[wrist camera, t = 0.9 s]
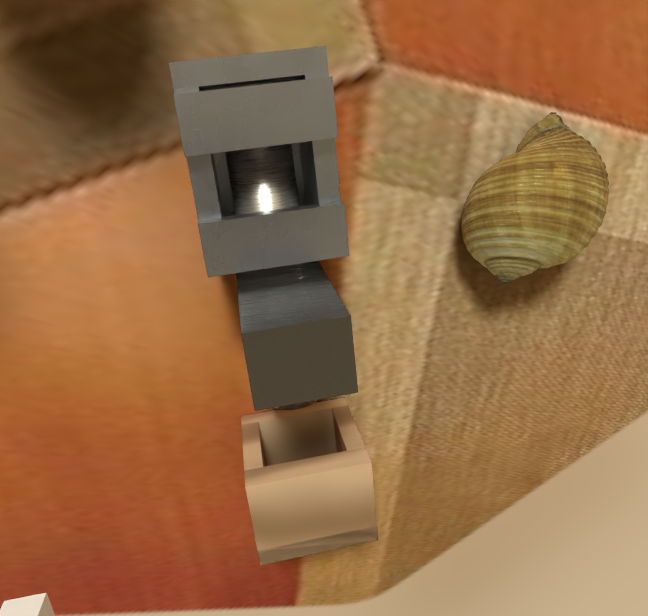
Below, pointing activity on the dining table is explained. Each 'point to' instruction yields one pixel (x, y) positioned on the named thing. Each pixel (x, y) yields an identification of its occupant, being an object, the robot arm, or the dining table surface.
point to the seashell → (536, 203)
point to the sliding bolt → (287, 301)
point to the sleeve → (253, 132)
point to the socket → (307, 481)
